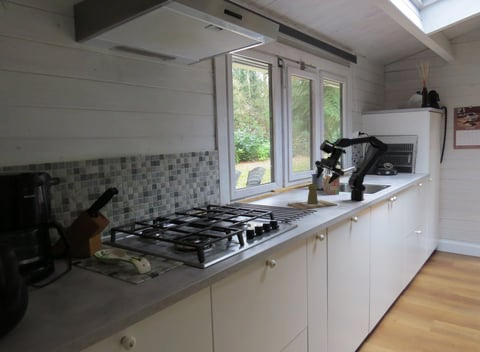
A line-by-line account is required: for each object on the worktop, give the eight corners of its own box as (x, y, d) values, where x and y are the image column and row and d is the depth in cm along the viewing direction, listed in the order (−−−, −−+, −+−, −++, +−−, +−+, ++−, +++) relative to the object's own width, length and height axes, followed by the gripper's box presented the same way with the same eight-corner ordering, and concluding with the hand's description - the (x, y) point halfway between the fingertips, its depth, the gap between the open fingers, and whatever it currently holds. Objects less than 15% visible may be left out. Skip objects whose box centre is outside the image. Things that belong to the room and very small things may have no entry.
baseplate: (321, 201, 220) (321, 199, 220) (337, 205, 208) (337, 203, 208) (287, 205, 209) (287, 203, 209) (302, 209, 197) (302, 207, 197)
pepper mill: (308, 204, 206) (308, 185, 204) (306, 202, 212) (306, 183, 210) (319, 204, 206) (319, 185, 204) (316, 202, 212) (317, 183, 210)
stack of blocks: (322, 189, 266) (323, 172, 264) (331, 189, 266) (331, 172, 264) (329, 194, 244) (330, 176, 243) (339, 194, 244) (339, 176, 243)
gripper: (315, 148, 220) (304, 172, 221) (340, 157, 206) (327, 182, 207) (325, 155, 228) (314, 177, 228) (350, 163, 214) (337, 187, 214)
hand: (322, 181), depth 219 cm, fingers open, 9 cm apart
